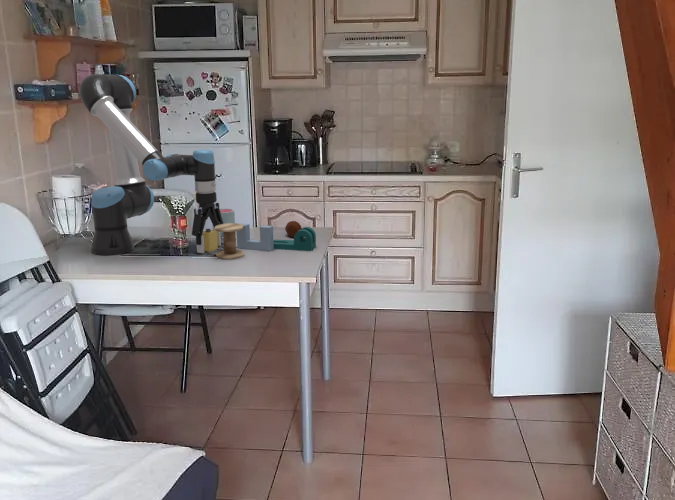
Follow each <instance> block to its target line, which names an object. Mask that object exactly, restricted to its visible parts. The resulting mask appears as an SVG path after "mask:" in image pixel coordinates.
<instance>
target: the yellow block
mask: <svg viewBox="0 0 675 500" xmlns="http://www.w3.org/2000/svg"><path fill="white" fill-rule="evenodd" d="M202 236H204V252H206V253H211V252H213V251H215V250H217V249H218V247H219V246H218V245H217V231H216V230H213V229H211V228H205V230H203V233H202Z"/></svg>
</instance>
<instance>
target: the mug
mask: <svg viewBox="0 0 675 500" xmlns="http://www.w3.org/2000/svg"><path fill="white" fill-rule="evenodd" d="M219 209H220V213H221V216H222V220H223V224H226V223H236V221H235V209H233V208H219ZM219 223H220V222H219ZM213 229H215V228H214V226H213V224H212V230H213ZM220 234H221V237H222V238H223V232H220Z"/></svg>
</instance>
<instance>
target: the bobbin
mask: <svg viewBox="0 0 675 500" xmlns="http://www.w3.org/2000/svg"><path fill="white" fill-rule="evenodd" d="M241 224H242V223H236V222H235V223H226V224H219V225H216V226H215V230H216V231H219V232H223V237H222V239H223V250H219V251H217V252H216V254H215V255H216V256H215V257H216V258H218V259H220V260H235V259H240V258H243V257H244V256H245V251H244V250H242V249H237V235H236V232H237V231H240V230H242V229H243V225H241Z"/></svg>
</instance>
